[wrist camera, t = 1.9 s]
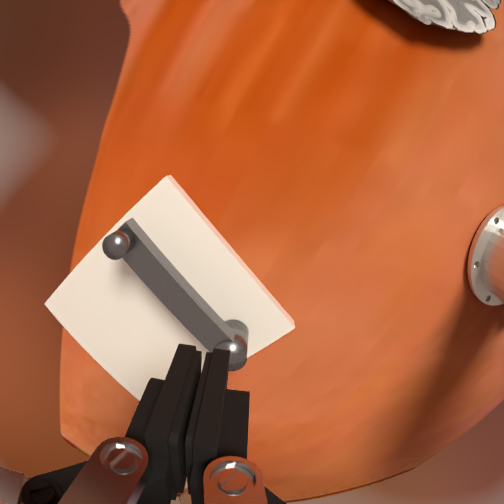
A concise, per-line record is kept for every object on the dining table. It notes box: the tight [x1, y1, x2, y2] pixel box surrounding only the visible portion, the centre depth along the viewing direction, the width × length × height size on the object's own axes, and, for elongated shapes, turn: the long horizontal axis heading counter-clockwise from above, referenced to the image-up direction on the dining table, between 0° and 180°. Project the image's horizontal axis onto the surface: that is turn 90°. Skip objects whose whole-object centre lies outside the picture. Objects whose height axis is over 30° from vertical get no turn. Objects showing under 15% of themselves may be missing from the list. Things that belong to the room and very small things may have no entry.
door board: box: [45, 175, 295, 401], centre depth 30 cm, size 19×22×6 cm
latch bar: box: [102, 218, 249, 371], centre depth 27 cm, size 16×3×6 cm, turn 39°
